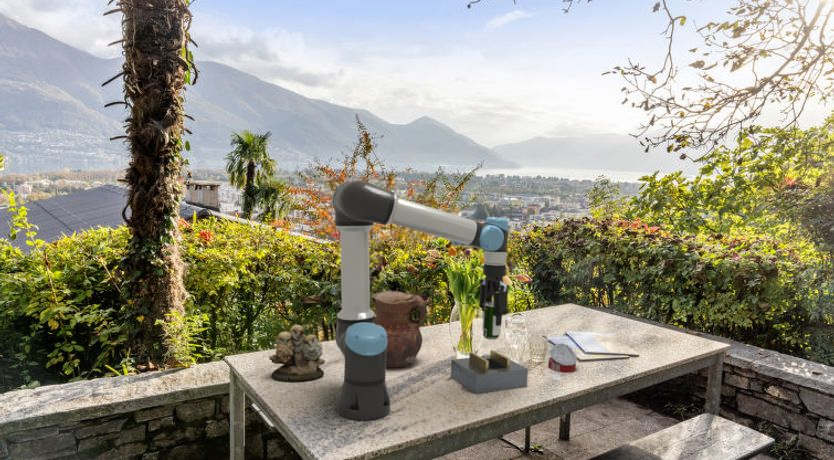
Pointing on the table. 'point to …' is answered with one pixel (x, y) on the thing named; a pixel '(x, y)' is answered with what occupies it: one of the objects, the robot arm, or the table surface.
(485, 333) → the beer can
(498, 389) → the grey fixture block
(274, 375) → the owl figurine
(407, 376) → the table surface
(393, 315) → the jug
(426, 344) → the table surface
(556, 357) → the canned food
